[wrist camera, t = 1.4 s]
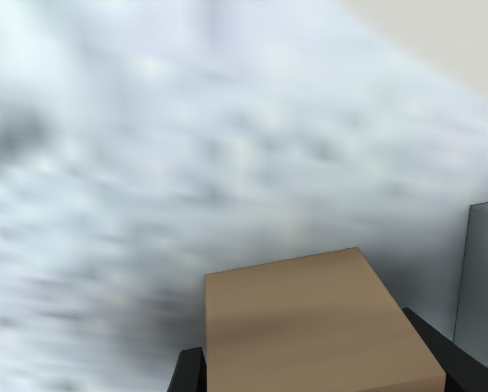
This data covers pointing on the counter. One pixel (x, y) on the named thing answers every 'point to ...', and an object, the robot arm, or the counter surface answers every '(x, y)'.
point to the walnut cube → (312, 330)
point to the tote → (474, 289)
